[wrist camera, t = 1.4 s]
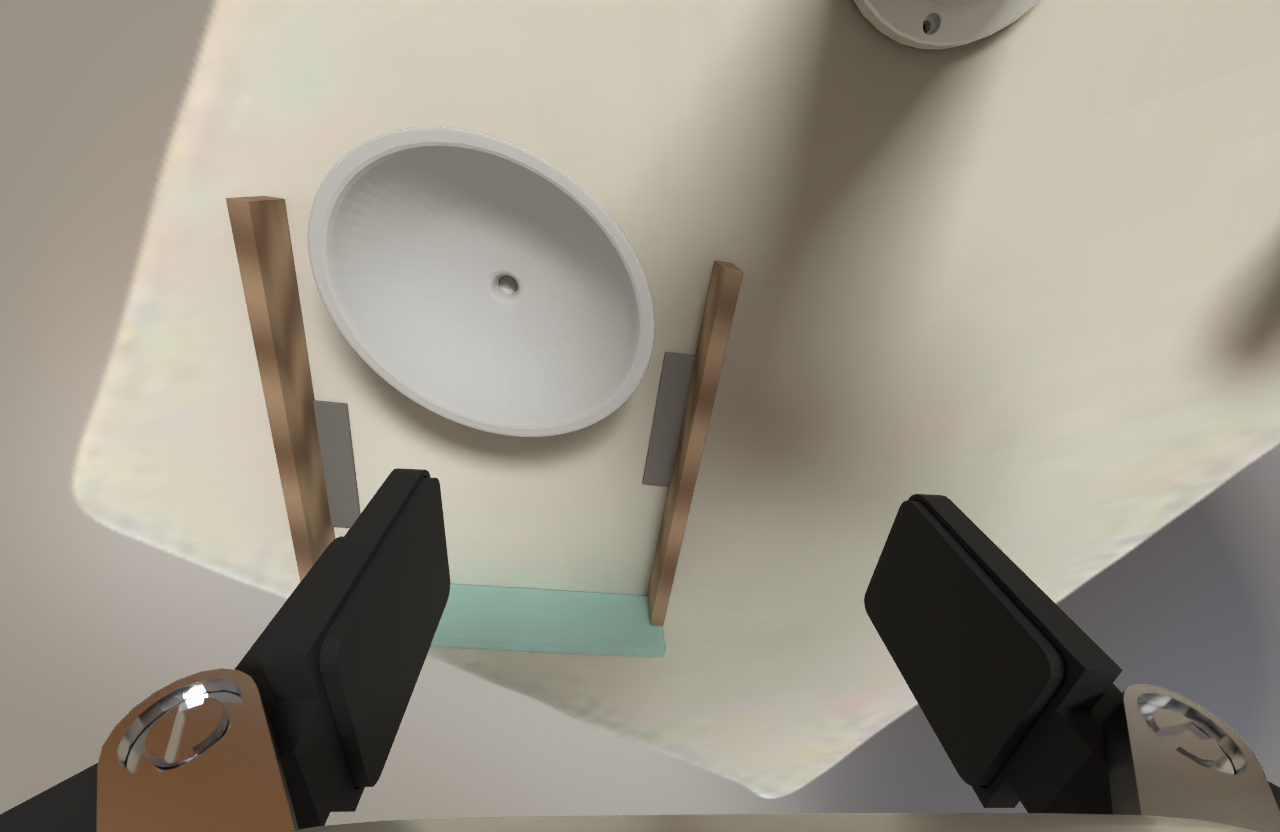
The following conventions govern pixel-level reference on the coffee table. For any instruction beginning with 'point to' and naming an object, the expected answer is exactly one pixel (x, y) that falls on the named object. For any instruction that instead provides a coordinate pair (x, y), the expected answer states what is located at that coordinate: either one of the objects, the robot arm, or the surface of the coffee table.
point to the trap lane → (326, 476)
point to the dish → (481, 281)
